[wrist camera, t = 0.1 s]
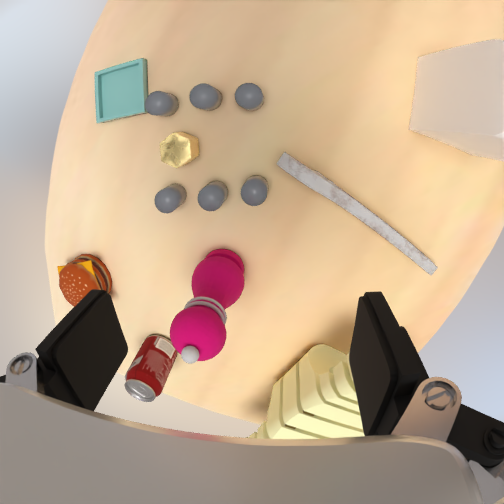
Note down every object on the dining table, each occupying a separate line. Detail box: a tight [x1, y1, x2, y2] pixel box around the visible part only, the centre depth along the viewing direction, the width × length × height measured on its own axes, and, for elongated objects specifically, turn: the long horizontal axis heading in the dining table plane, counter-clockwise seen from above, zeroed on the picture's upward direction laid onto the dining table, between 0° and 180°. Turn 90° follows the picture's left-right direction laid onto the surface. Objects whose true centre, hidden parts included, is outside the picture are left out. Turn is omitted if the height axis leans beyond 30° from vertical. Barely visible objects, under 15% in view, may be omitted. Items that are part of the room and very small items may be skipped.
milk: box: [409, 39, 504, 161], centre depth 19 cm, size 12×12×26 cm
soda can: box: [125, 335, 177, 402], centre depth 47 cm, size 7×7×12 cm
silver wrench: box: [277, 152, 438, 275], centre depth 37 cm, size 8×2×30 cm
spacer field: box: [145, 83, 268, 213], centre depth 35 cm, size 16×15×4 cm
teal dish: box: [95, 58, 148, 123], centre depth 34 cm, size 8×8×2 cm
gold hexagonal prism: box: [160, 132, 199, 168], centre depth 36 cm, size 5×4×4 cm
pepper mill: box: [170, 249, 244, 363], centre depth 35 cm, size 7×7×20 cm
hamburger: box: [58, 254, 112, 307], centre depth 45 cm, size 9×10×7 cm
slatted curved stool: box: [246, 344, 365, 439], centre depth 44 cm, size 30×16×18 cm, turn 149°
